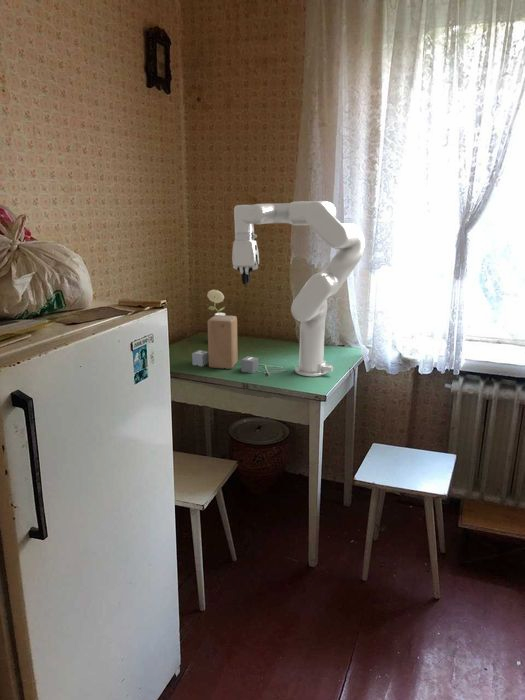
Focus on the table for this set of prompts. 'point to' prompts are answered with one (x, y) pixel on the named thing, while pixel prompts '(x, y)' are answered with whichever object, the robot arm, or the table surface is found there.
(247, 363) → the charcoal block marked 1
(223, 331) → the wooden block
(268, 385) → the table surface
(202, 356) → the slate block marked 7
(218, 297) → the flower in vase
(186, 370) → the table surface
